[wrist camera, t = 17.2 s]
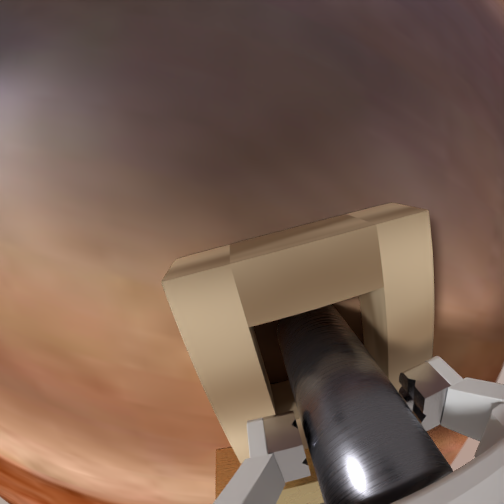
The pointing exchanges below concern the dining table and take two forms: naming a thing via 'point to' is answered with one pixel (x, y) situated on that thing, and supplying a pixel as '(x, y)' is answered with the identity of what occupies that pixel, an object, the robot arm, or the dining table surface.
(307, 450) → the bar
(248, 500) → the robot arm
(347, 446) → the dark grey rounded rod
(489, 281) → the dining table surface
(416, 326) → the block
